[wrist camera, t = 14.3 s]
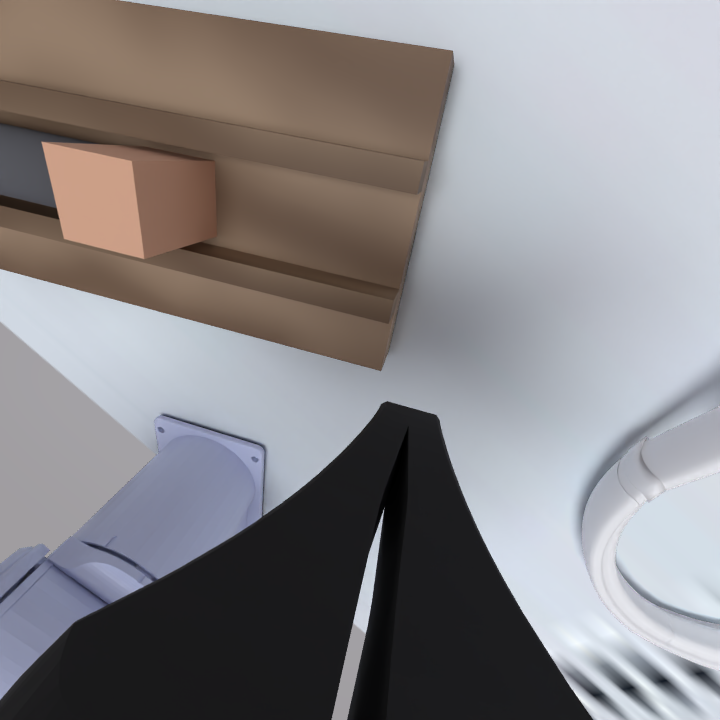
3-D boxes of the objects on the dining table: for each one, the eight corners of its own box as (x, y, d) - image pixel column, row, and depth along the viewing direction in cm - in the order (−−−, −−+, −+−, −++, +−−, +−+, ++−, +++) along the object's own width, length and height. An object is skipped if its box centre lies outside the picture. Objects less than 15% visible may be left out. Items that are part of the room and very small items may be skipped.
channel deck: (388, 352, 19) (374, 387, 16) (2, 251, 22) (-69, 265, 20) (454, 64, 13) (451, 37, 10) (-85, -19, 16) (-206, -59, 14)
